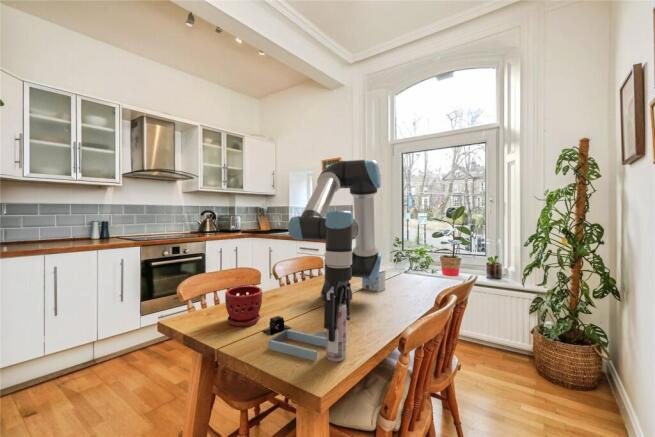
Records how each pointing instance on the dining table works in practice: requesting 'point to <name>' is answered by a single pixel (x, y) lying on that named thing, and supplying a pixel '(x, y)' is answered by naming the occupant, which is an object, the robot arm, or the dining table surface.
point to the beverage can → (339, 336)
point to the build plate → (276, 326)
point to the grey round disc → (321, 334)
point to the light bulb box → (375, 282)
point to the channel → (296, 350)
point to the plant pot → (243, 305)
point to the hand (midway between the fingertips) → (337, 347)
